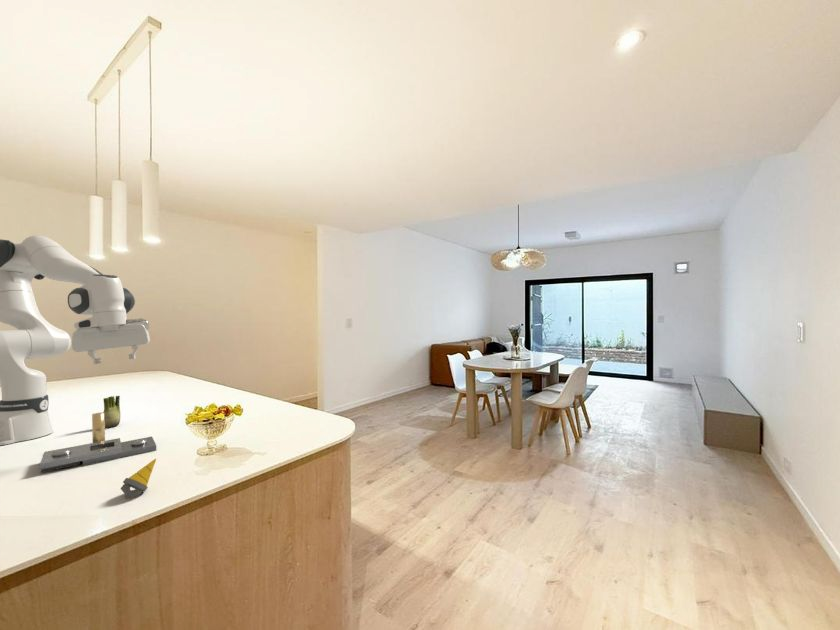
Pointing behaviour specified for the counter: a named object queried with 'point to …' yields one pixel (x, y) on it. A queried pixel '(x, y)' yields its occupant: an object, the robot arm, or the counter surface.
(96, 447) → the gray mounting plate
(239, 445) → the counter surface
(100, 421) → the brass pin
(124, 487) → the yellow pointed cone
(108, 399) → the fennel bulb
